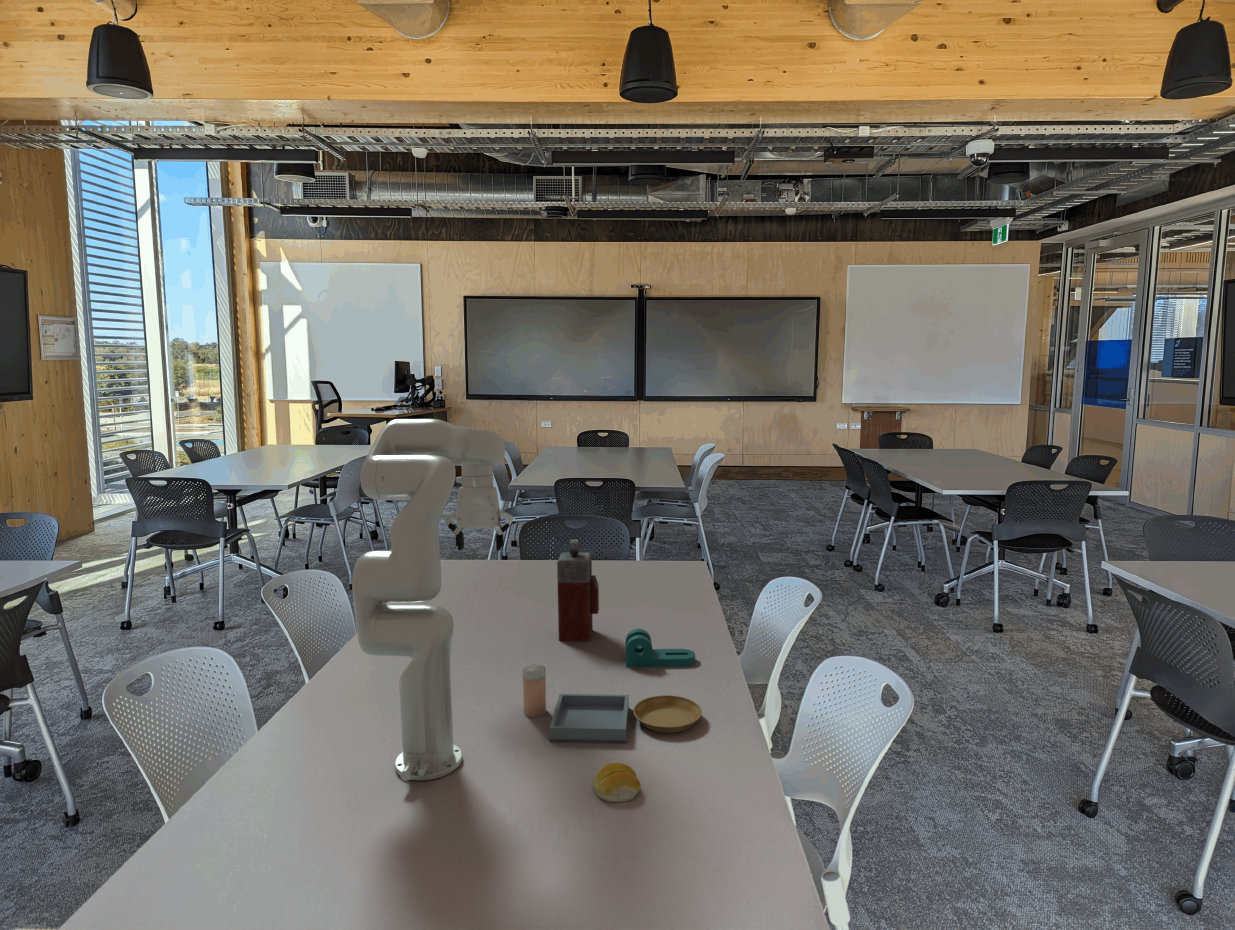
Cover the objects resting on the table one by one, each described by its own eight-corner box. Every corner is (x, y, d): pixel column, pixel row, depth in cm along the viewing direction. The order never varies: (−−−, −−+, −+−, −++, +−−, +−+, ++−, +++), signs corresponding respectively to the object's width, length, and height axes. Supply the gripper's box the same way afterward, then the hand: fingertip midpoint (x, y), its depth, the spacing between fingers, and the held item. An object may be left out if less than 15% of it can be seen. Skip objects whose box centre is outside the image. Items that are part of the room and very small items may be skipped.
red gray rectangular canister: (598, 641, 203) (597, 543, 199) (558, 640, 203) (556, 543, 200) (600, 629, 212) (599, 536, 208) (562, 629, 212) (560, 536, 208)
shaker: (544, 717, 159) (543, 674, 157) (521, 717, 159) (520, 673, 158) (548, 706, 164) (547, 664, 162) (525, 706, 164) (524, 664, 163)
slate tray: (625, 742, 147) (625, 729, 147) (549, 741, 148) (549, 727, 148) (628, 707, 163) (628, 694, 162) (559, 706, 164) (559, 693, 163)
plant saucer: (645, 743, 148) (645, 731, 147) (625, 710, 162) (625, 699, 162) (712, 733, 152) (712, 721, 151) (687, 702, 166) (687, 691, 165)
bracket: (626, 667, 185) (625, 638, 184) (625, 657, 192) (625, 628, 191) (696, 667, 185) (696, 637, 184) (693, 656, 192) (693, 628, 191)
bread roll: (632, 773, 137) (631, 753, 136) (644, 800, 128) (644, 779, 128) (589, 778, 135) (588, 758, 134) (598, 806, 126) (598, 785, 126)
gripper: (438, 484, 175) (441, 552, 178) (509, 484, 174) (511, 553, 177) (447, 479, 183) (450, 545, 185) (515, 479, 182) (517, 545, 184)
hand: (480, 549), depth 181 cm, fingers open, 9 cm apart
